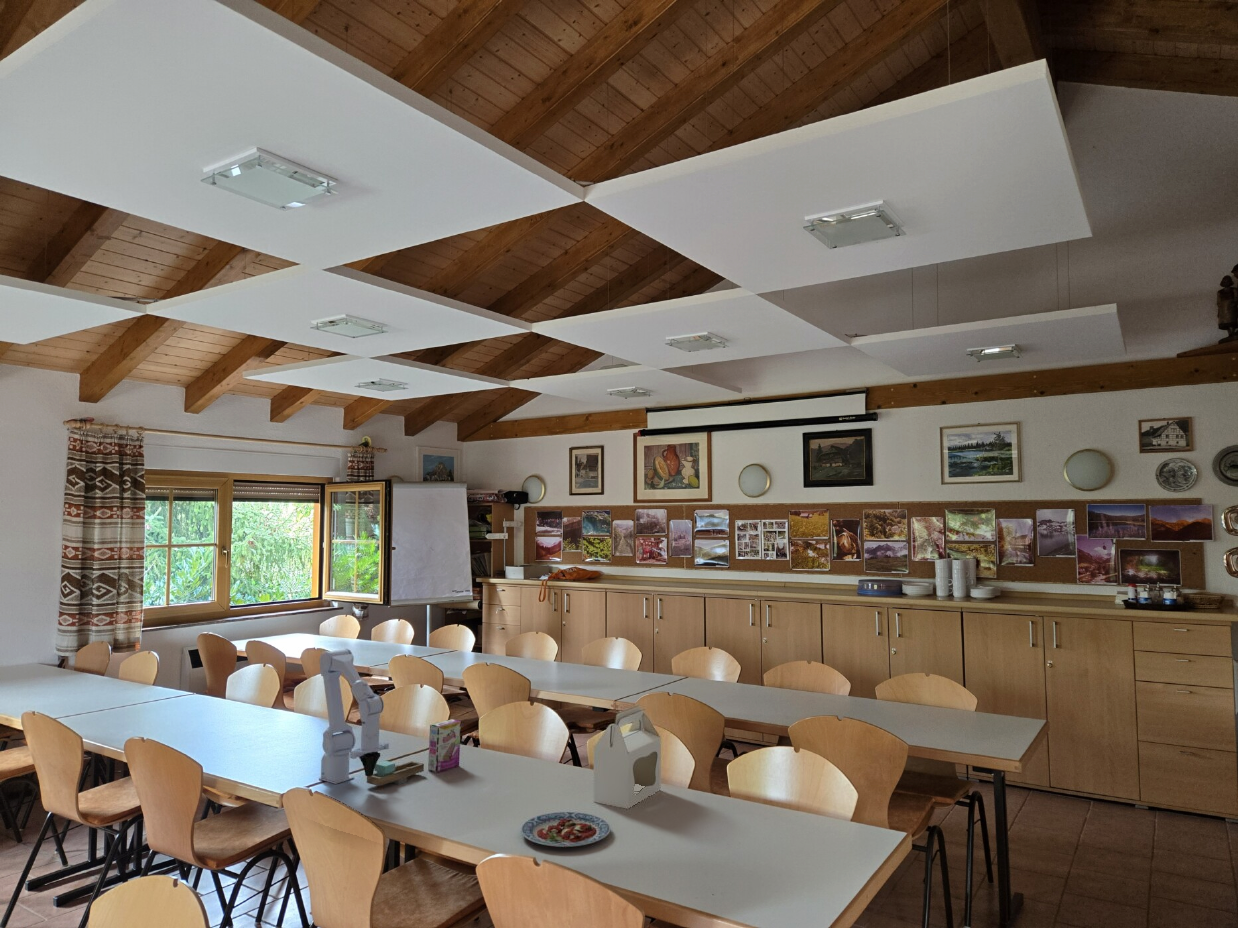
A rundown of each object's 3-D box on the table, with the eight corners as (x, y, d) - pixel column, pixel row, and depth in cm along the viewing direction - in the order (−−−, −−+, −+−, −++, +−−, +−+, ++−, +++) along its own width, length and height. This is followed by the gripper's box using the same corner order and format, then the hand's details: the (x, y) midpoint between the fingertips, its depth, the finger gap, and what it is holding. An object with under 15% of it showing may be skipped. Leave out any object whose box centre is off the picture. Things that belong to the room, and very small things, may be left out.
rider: (374, 777, 273) (374, 763, 274) (384, 774, 277) (384, 760, 277) (384, 780, 271) (385, 766, 271) (394, 776, 274) (395, 763, 275)
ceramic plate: (563, 812, 250) (564, 802, 250) (628, 833, 233) (628, 823, 233) (501, 836, 230) (501, 826, 230) (567, 861, 213) (567, 850, 214)
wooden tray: (365, 787, 271) (366, 774, 272) (410, 772, 288) (411, 760, 288) (379, 790, 268) (380, 778, 268) (424, 775, 284) (424, 763, 285)
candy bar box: (437, 773, 287) (438, 726, 288) (427, 770, 290) (428, 724, 291) (460, 765, 296) (461, 720, 297) (451, 763, 299) (452, 718, 300)
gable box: (627, 810, 252) (628, 718, 254) (592, 802, 259) (593, 713, 261) (661, 790, 271) (661, 705, 273) (627, 783, 278) (628, 700, 280)
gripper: (360, 740, 261) (359, 783, 260) (395, 731, 273) (394, 772, 272) (346, 737, 265) (345, 779, 264) (381, 728, 277) (380, 768, 276)
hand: (369, 775), depth 268 cm, fingers closed
